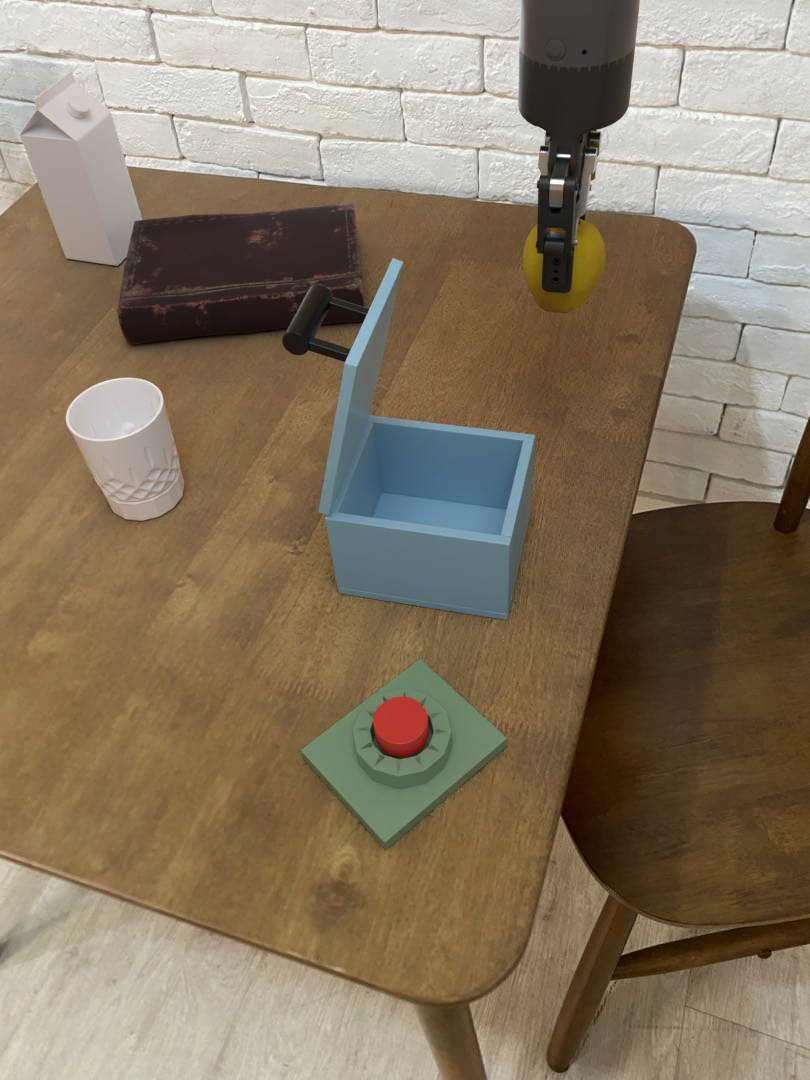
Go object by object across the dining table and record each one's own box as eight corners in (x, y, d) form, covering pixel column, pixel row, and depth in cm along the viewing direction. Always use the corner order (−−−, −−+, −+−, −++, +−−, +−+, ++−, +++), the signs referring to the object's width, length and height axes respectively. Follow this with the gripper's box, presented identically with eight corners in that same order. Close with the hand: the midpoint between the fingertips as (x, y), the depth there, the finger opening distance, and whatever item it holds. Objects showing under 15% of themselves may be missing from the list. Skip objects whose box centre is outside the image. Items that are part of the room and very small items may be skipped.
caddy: (530, 512, 79) (535, 434, 73) (507, 620, 72) (509, 545, 65) (376, 491, 82) (366, 414, 75) (338, 593, 75) (323, 518, 68)
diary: (366, 327, 98) (362, 285, 94) (128, 352, 98) (114, 311, 94) (357, 234, 110) (353, 194, 107) (146, 255, 110) (134, 216, 106)
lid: (403, 261, 64) (325, 236, 64) (357, 366, 56) (269, 338, 57) (371, 411, 75) (304, 390, 75) (328, 515, 68) (254, 492, 68)
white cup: (134, 455, 87) (102, 369, 80) (207, 474, 85) (181, 387, 77) (85, 514, 82) (45, 428, 75) (160, 536, 80) (127, 449, 72)
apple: (597, 331, 74) (606, 238, 68) (516, 325, 75) (518, 234, 69) (603, 285, 78) (612, 194, 72) (526, 281, 79) (529, 191, 73)
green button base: (420, 667, 69) (418, 643, 67) (507, 746, 65) (508, 724, 62) (302, 758, 65) (295, 736, 63) (385, 850, 60) (382, 830, 58)
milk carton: (65, 260, 111) (4, 96, 97) (97, 229, 115) (43, 68, 101) (117, 267, 109) (63, 102, 95) (147, 235, 113) (100, 73, 99)
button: (404, 700, 65) (403, 686, 63) (439, 734, 63) (439, 720, 61) (364, 732, 63) (361, 718, 62) (399, 767, 61) (397, 754, 60)
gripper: (624, 87, 56) (600, 323, 68) (646, -1, 65) (621, 221, 77) (499, 83, 57) (498, 313, 70) (538, -3, 66) (531, 215, 79)
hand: (563, 264), depth 73 cm, fingers closed on apple, 6 cm apart
